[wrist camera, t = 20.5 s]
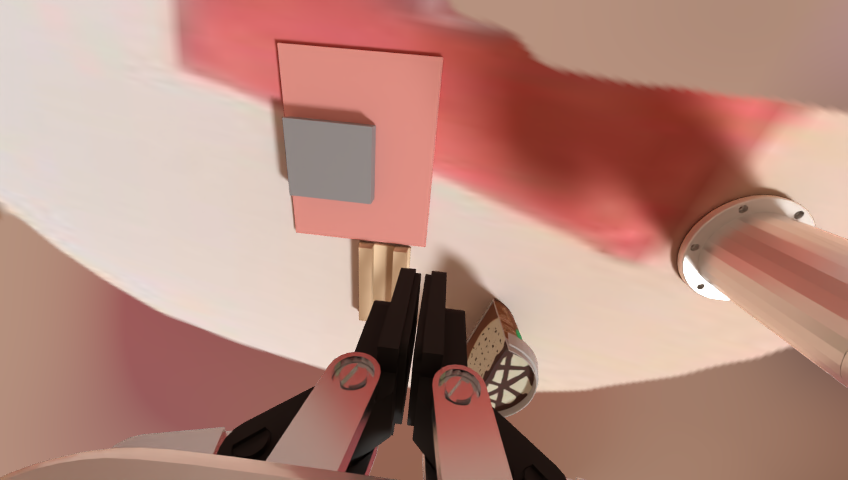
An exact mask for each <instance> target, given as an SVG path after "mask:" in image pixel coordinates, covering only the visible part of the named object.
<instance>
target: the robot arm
mask: <svg viewBox="0 0 848 480" xmlns="http://www.w3.org/2000/svg"><path fill="white" fill-rule="evenodd" d="M677 265H678V271H679V274H680V276H681V278H682V280H683V281H684V282H685V283H686V284H687V285H688V286H689V287H690V288H691V289H692V290H694V291H695V292H697V293H698V294H700V295H702V296H705V297H708V298H711V299H717V300H731V301H732V302H734V303H735V304H736V305H738V306H739V307H740V308H742V309H743V310H744V311H746V312H747V313H748V314H750V315H751V316H752V317H754V318H755V319H756V320H758V321H759V322H760V323H762V324H763V325H764V326H766V327H767V328H768V329H770V330H771V331H772V332H774V333H775V334H776V335H778V336H779V337H780V338H782V339H783V340H784V341H786V342H787V343H788V344H790V345H791V346H792V347H794V348H795V349H796V350H798V351H799V352H800V353H802V354H803V355H804V356H806V357H807V358H808V359H810V360H811V361H812V362H813V363H815V364H816V365H818V366H819V367H821V369H823V370H824V371H825V372H827V373H828V374H830V375H831V376H832V377H834V378H835V379H836V380H837V381H839V382H840V383H842V384H843V385H844V386H846V387H847V388H848V239H846V238H843V237H840V236H838V235H835V234H832V233H830V232H827V231H824V230H821V229H819V228H816V227H815V223H814V220H813V217H812V216H811V214H810V213H809V211H808V210H807V209H806V208H804V207H803V206H802V205H801V204H799V203H796V202H794V201H792V200H789V199H786V198H782V197H779V196H773V195H755V196H749V197H744V198H740V199H737V200H734V201H731V202H729V203H726V204H724V205H722V206H720V207H718V208H716V209H715V210H713V211H712V212H710V213H709V214H707V215H706V216H705V217H703V218H702V219H701V220H700V221H699V222H698V223H697V224H696V225H695V226H694V227H693V228H692V229H691V230H690V232H689V233H688V234H687V235H686V237H685V239H684V241H683V243H682V244H681V247H680V250H679V253H678V261H677ZM446 277H447V273H445V272H436V271H432V275H428V274H426V276H425V282H424V289H423V295H422V302H421V308H420V315H419V321H418V328H417V334H416V325H417V314H418V303H419V293H420V282H421V274H420V273H416V269H410V268H402V267H401V269H400V273H399V276H398V279H397V283H396V286H395V289H394V293H393V296H392V299H391V302H388V301H379V300H375V301H374V303H373V305H372V308H371V310H370V313H369V316H368V318H367V321H366V323H365V326H364V329H363V331H362V334H361V336H360V339H359V342H358V344H357V347H356V350H355V352H351V353H346V354H344V355H341V356H339V357H338V358H336V359H335V360H333V361H332V363H331V364H330V365H329V366H328V367H327V369H326V371H325V372H324V374H323V375H322V377H321V378H320V380H319V381H318V383H317V384H316V386H314V387H312V388H310V389H308V390H306V391H304V392H302V393H300V394H299V395H297V396H295V397H293V398H291V399H289V400H287V401H285V402H283V403H281V404H279V405H277V406H275V407H273V408H271V409H269V410H268V411H266V412H264V413H262V414H260V415H258V416H256V417H254V418H252V419H250V420H248V421H246V422H245V423H243V424H241V425H240V426H238V427H237V428H235V429H234V430H233V431H225V428H224V427H221V428H210V429H199V430H188V431H176V432H166V433H154V434H143V435H139V436H135V437H130V438H128V439H126V440H124V441H122V442H120V443H118V444H116V445H115V446H113V447H112V448H111V449H103V450H94V451H88V452H81V453H76V454H72V455H68V456H63V457H59V458H54V459H50V460H47V461H43V462H40V463H37V464H33V465H30V466H28V467H25V468H22V469H20V470H16V471H14V472H11V473H9V474H6V475H4V476H2V477H0V480H394V479H388V478H381V477H374V476H369V474H370V471H371V468H372V466H373V462H374V460H375V457H376V454H377V450H378V445H379V444H381V443H382V442H383V441H385V440H386V439H388V438H389V437H390V436H391V435H393V432H394V425H395V423H396V424H402V419H403V412H404V406H405V400H406V393H407V387H408V381H409V374H410V368H411V361H412V355H413V349H414V356H413V367H412V378H411V390H410V399H409V411H408V422H407V425H411V426H414V431H413V441H414V442H415V443H416V445H417V446H418V447H419V449H420V450H421V451H422V453H423V460H422V461H423V479H424V480H572V479H569V478H566V477H565V475H564V474H563V473H562V472H561V471H560V470H559V468H558V467H557V466H556V465H555V464H554V463H553V462H552V461H550V460H549V459H548V458H547V457H546V456H545V455H544V454H543V453H542V452H541V451H540V450H538V449H537V448H536V447H535V446H534V445H533V444H532V443H531V442H530V441H529V440H528V439H527V438H526V437H525V436H523V435H522V434H521V433H520V432H519V431H518V430H517V429H516V428H515V427H514V426H513V425H512V424H511V423H509V422H508V421H507V420H506V419H505V418H504V417H503V416H502V415H501V414H500V413H499V412H498V411H497V410H496V409H494V408H493V407H492V404H491V401H490V397H489V394H488V390H487V387H486V384H485V382H484V380H483V379H482V377H481V376H480V375H479V374H478V373H477V372H475V371H474V370H472V369H471V368H468V363H467V343H466V324H465V311H462V310H454V309H446V308H445V302H446ZM415 335H416V341H415ZM414 342H415V348H414ZM575 480H585V479H582V478H579V477H577V478H576V479H575Z"/></svg>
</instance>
